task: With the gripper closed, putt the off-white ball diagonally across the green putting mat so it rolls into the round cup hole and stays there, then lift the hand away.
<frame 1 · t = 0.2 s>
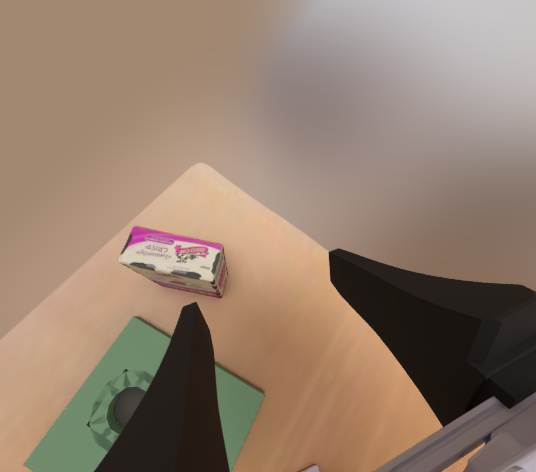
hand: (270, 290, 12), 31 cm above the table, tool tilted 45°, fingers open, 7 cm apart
putting mat: (160, 421, 33), on the table
candy bar box: (195, 279, 42), on the table
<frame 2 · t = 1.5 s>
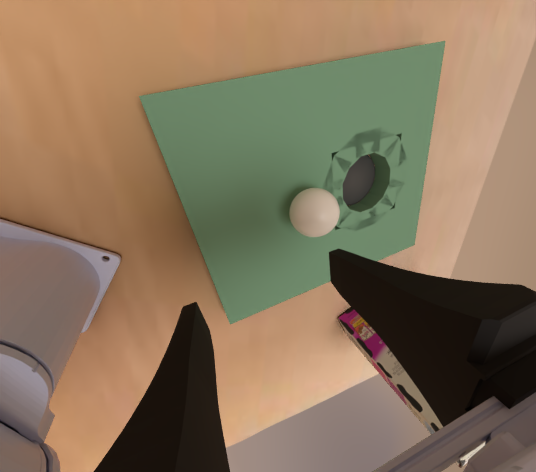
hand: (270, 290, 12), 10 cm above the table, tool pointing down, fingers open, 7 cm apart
putting mat: (315, 192, 22), on the table
candy bar box: (369, 302, 34), on the table
ball: (314, 212, 19), point 4 cm above the table, touching putting mat
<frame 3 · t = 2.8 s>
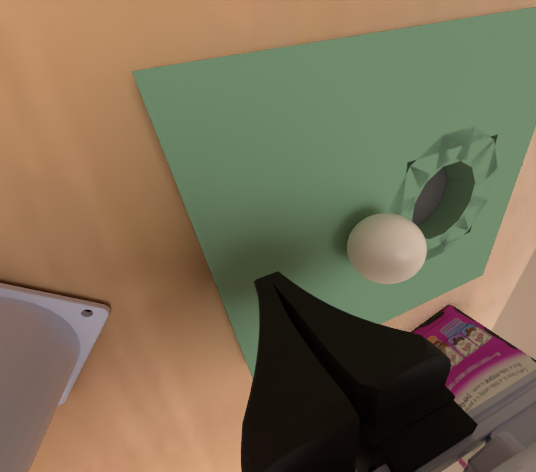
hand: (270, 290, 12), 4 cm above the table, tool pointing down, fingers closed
putting mat: (370, 212, 17), on the table
candy bar box: (414, 338, 28), on the table
ball: (384, 248, 13), point 4 cm above the table, touching putting mat
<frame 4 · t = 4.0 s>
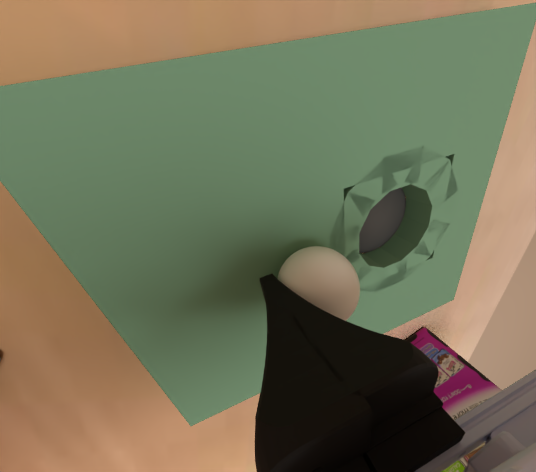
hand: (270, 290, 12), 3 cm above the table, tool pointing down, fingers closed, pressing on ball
putting mat: (317, 238, 15), on the table
candy bar box: (387, 361, 26), on the table
ball: (316, 286, 11), point 4 cm above the table, tilted 7°, touching gripper, putting mat
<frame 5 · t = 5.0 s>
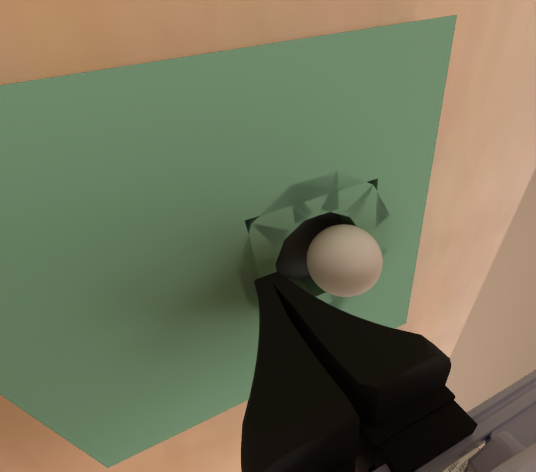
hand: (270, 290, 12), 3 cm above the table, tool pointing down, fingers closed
putting mat: (239, 266, 14), on the table
ball: (342, 260, 13), point 3 cm above the table, tilted 137°, touching putting mat
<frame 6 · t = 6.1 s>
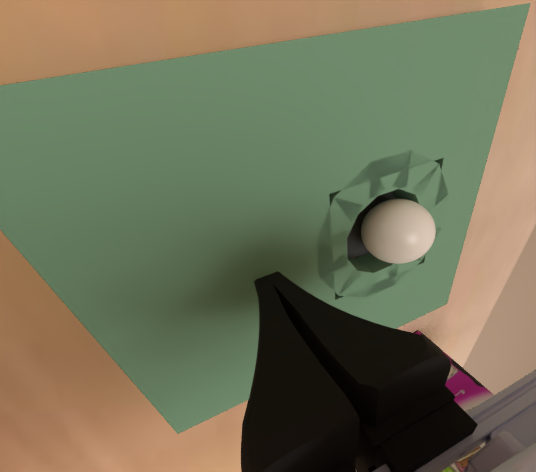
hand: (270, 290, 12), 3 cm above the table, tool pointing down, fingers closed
putting mat: (305, 243, 15), on the table
candy bar box: (381, 365, 26), on the table
ball: (395, 231, 14), point 2 cm above the table, tilted 154°, touching putting mat
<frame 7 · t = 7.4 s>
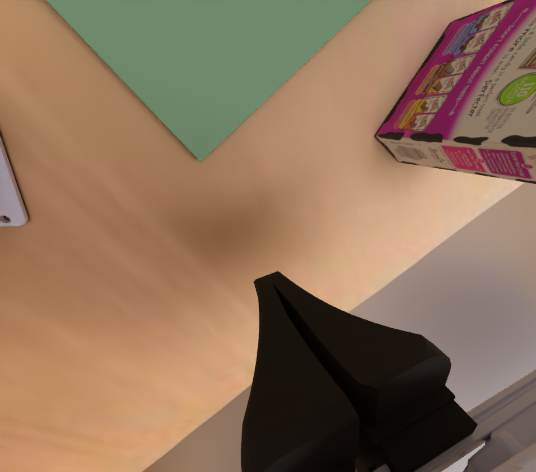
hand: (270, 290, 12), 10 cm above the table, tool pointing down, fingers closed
candy bar box: (420, 99, 22), on the table
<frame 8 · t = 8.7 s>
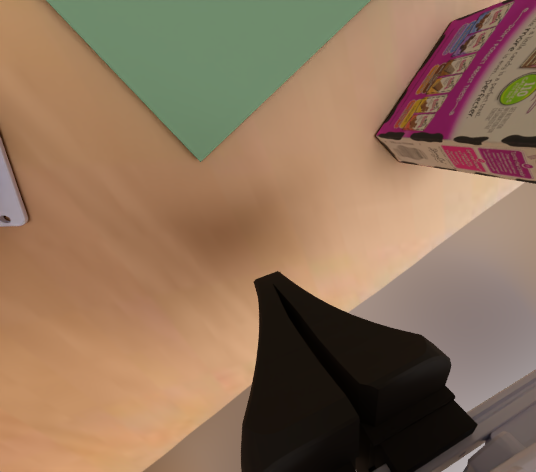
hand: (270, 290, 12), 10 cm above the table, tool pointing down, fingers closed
candy bar box: (421, 98, 22), on the table
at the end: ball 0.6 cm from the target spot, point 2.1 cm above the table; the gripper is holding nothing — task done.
